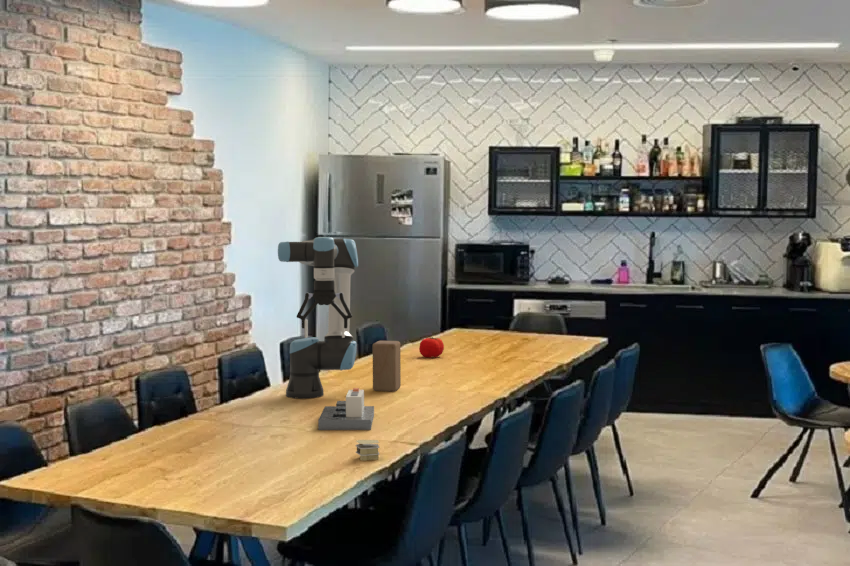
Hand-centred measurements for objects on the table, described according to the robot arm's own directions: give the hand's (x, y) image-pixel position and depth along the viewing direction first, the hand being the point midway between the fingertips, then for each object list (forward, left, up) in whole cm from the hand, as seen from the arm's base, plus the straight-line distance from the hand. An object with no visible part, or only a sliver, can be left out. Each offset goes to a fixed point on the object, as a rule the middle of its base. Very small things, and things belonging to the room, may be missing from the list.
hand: (324, 337), depth 382 cm
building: (+19, -66, -29) cm, 74 cm away
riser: (+6, +7, -29) cm, 30 cm away
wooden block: (+21, +51, -29) cm, 62 cm away
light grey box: (+12, -14, -28) cm, 34 cm away
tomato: (+40, +141, -29) cm, 150 cm away
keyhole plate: (+9, -14, -29) cm, 33 cm away
